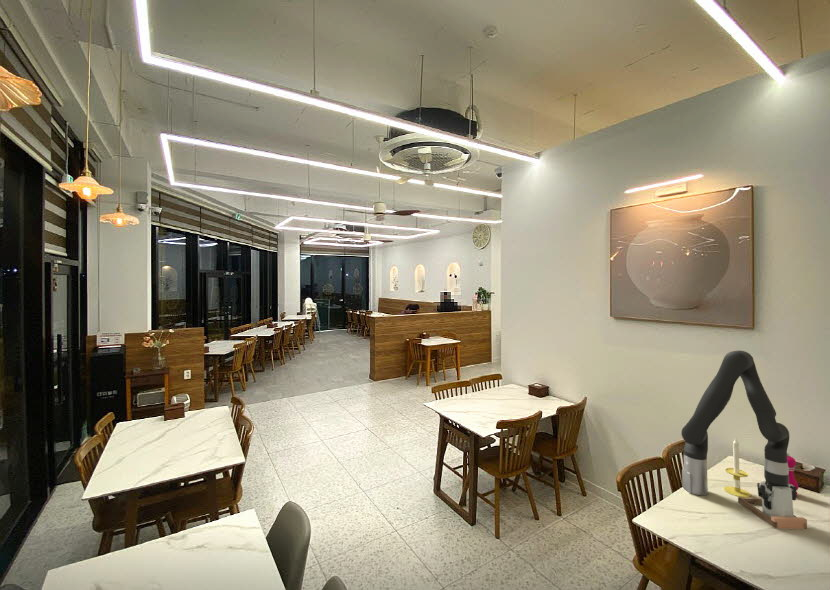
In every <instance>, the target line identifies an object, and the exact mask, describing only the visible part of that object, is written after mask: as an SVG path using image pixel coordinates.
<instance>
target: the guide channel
mask: <svg viewBox="0 0 830 590" xmlns="http://www.w3.org/2000/svg"><path fill="white" fill-rule="evenodd" d="M737 503H738V504H740V505H741V506H742V507H744V508H746V509H747V510H748V511H750V512H751V513H752V514H754V515H755V516H756V517H758V518H760V519H761V520H763V522H765V523H767V524H768V525H769V526H770V527H772V528H773V529H779V528H778V525H777V522H776V523H774V522H773V521H772V520H771V517H769V516H768V515H766V514H765V513H763V510H760V509H759V508H758V507H756V506H755V505H760V506H762V498H761V497H738V496H737ZM794 517H797V516H796V515H795V514H794ZM806 524H807V526H806V527H807V528H808V522H807V523H805V525H806ZM775 525H776V526H775ZM774 526H775V527H776V528H775V527H774ZM803 530H806V529H805V528H804V529H803Z"/></svg>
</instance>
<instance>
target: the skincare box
mask: <svg viewBox="0 0 830 590" xmlns="http://www.w3.org/2000/svg"><path fill="white" fill-rule="evenodd" d="M765 482H766V480H763V481H760V484H765ZM765 491H767V492H768V493H770V494H771V493H772V492H771V491H770V490H769V489H767V488H766V490H765ZM772 491H774V494H773V495H774V497H772V499H771V500H770V501H771V510H770V509H767V508H766V507H765V506H764V499H763V498H762V505H761V506H762V512H763V513H765V514H766V515H768V516H769V517H771V516H777V517H794V515H795V514H794V504H793V503H794V502H793V501H794V500H792V489H791V488H789V487H786V486H772ZM768 496H769V495H768V494H767V497H768Z"/></svg>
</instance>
